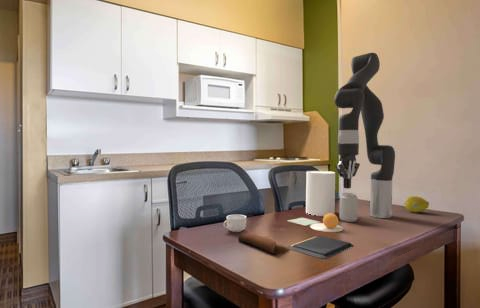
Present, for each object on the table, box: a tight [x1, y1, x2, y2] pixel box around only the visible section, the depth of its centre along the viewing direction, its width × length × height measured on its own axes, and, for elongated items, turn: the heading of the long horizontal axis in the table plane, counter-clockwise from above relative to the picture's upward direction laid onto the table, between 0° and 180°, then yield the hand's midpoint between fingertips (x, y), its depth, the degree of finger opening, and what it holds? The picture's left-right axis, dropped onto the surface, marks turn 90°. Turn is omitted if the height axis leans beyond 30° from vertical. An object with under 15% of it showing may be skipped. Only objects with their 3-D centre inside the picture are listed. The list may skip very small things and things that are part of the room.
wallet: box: [286, 235, 355, 260], centre depth 107 cm, size 20×2×15 cm
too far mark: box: [287, 217, 321, 227], centre depth 141 cm, size 10×10×1 cm
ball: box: [322, 213, 340, 229], centre depth 130 cm, size 6×6×6 cm
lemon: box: [404, 195, 430, 214], centre depth 162 cm, size 11×8×8 cm
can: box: [338, 192, 359, 223], centre depth 144 cm, size 8×8×12 cm
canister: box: [305, 170, 336, 217], centre depth 158 cm, size 14×14×20 cm
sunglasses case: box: [237, 230, 292, 256], centre depth 107 cm, size 18×7×7 cm
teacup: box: [222, 214, 247, 233], centre depth 125 cm, size 10×8×5 cm
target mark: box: [309, 222, 344, 233], centre depth 131 cm, size 13×13×1 cm
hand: (347, 188), depth 124 cm, fingers closed
